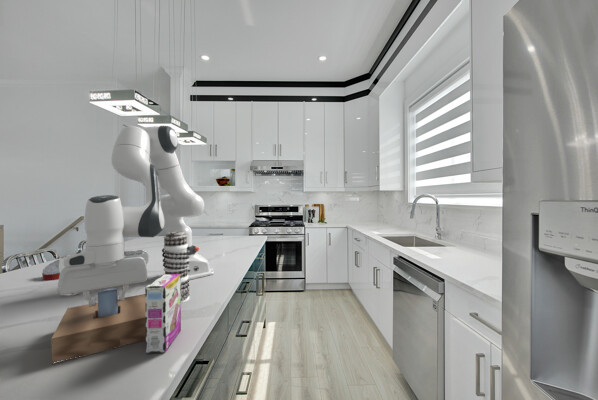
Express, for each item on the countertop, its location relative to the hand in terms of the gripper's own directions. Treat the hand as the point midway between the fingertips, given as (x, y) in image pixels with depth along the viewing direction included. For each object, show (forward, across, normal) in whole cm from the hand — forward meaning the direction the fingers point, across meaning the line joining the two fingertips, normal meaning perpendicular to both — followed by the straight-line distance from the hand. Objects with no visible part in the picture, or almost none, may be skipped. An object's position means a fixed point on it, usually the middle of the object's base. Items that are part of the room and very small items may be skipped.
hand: (107, 302), depth 76 cm
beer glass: (+9, +14, -46) cm, 49 cm away
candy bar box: (+9, -13, +14) cm, 21 cm away
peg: (+9, 0, 0) cm, 9 cm away
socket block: (+9, 0, 0) cm, 9 cm away
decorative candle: (+9, -20, -15) cm, 26 cm away
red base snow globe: (+9, +24, -79) cm, 83 cm away
